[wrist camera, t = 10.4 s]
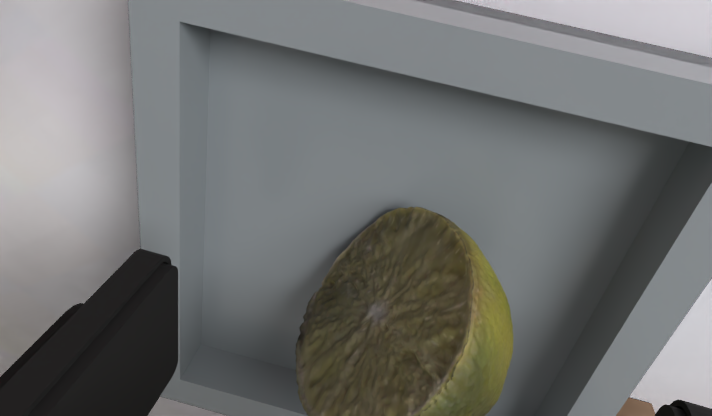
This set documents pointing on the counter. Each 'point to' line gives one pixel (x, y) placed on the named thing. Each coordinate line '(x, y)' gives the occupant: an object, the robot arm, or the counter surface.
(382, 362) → the lime
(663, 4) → the counter surface
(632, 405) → the walnut board
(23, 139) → the counter surface
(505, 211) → the slate dish
